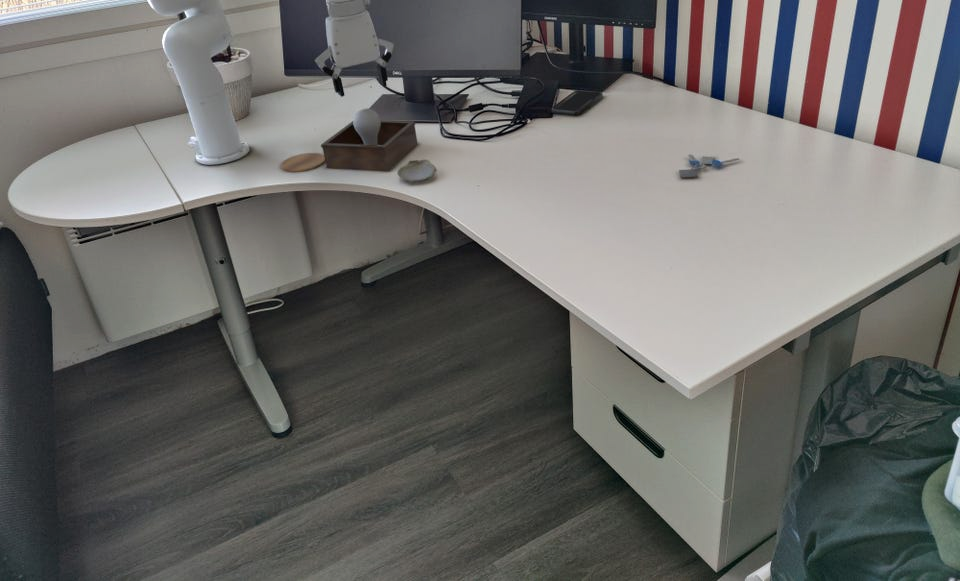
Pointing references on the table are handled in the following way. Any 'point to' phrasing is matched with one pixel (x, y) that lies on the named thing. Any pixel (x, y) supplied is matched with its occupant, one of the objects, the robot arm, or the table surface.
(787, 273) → the table surface
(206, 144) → the robot arm
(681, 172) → the key chain
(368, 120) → the lightbulb
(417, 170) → the seashell
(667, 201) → the table surface
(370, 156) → the wooden frame
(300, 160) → the coaster
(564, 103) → the phone
